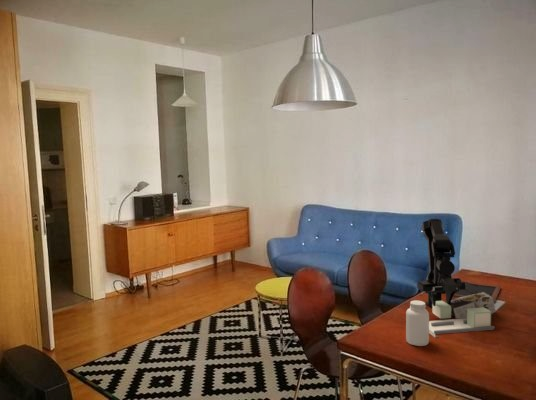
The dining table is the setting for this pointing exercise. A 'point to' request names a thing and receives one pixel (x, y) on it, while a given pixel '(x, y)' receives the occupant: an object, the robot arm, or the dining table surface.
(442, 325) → the shelf
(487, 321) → the faced box
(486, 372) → the dining table surface
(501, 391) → the dining table surface
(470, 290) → the picture frame
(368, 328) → the dining table surface
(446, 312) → the pale green box
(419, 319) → the pill bottle
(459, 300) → the coffee box
